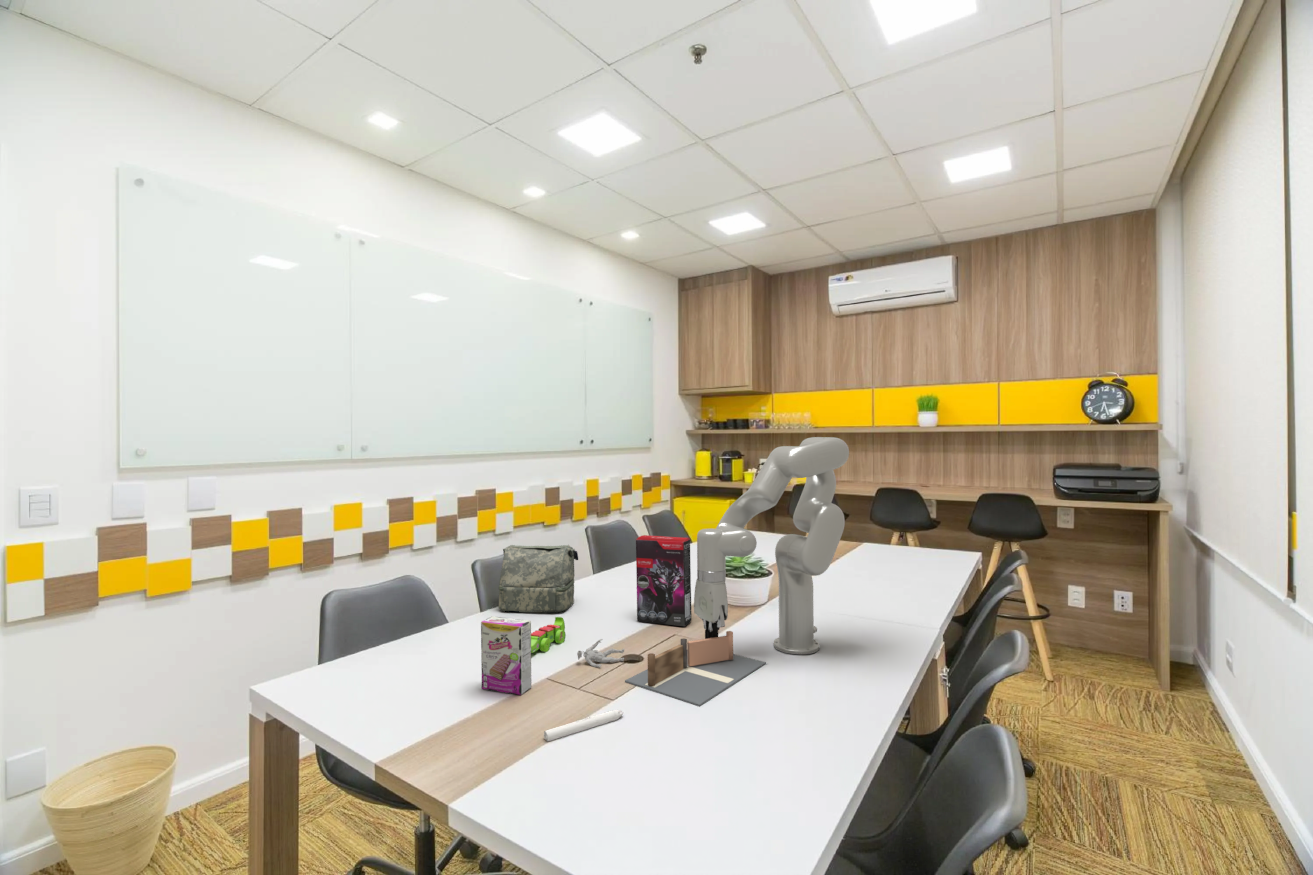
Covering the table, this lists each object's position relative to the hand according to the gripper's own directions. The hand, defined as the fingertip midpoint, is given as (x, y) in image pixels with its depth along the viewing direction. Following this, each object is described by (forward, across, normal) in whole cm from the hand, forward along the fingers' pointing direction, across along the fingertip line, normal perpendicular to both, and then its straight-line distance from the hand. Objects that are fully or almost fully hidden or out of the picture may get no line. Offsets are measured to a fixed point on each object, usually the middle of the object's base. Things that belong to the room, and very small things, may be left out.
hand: (711, 644), depth 161 cm
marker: (+5, +18, -43) cm, 47 cm away
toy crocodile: (+5, -33, -35) cm, 49 cm away
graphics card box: (+4, -35, +5) cm, 36 cm away
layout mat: (+4, +5, -8) cm, 10 cm away
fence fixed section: (+4, +4, -16) cm, 17 cm away
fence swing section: (+3, +2, -2) cm, 5 cm away
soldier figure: (+5, -14, -26) cm, 30 cm away
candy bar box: (+5, -10, -52) cm, 53 cm away
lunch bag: (+5, -73, -24) cm, 77 cm away
